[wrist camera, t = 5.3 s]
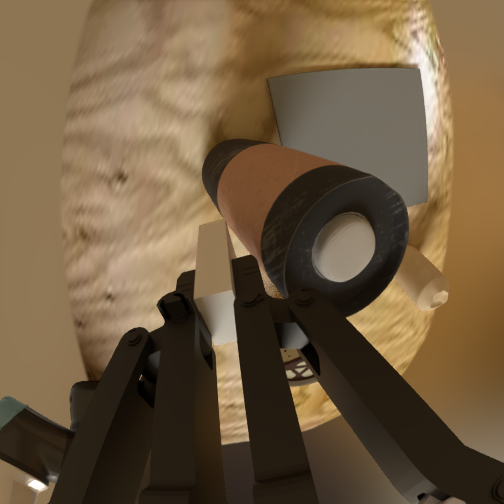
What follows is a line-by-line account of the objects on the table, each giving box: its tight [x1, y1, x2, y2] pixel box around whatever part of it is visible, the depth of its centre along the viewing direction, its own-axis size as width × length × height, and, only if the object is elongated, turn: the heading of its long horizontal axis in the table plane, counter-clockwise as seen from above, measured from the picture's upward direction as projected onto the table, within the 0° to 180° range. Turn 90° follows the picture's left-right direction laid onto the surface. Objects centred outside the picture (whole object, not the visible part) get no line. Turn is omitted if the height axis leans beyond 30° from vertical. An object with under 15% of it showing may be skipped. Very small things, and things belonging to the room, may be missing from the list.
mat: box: [267, 68, 428, 207], centre depth 30 cm, size 19×18×1 cm
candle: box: [394, 245, 449, 311], centre depth 35 cm, size 6×6×10 cm
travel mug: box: [202, 139, 409, 318], centre depth 21 cm, size 8×8×20 cm
